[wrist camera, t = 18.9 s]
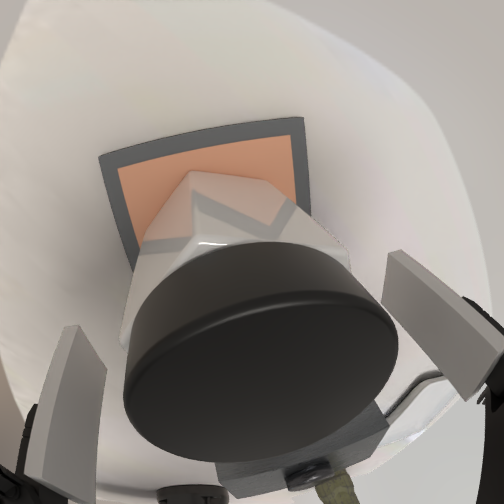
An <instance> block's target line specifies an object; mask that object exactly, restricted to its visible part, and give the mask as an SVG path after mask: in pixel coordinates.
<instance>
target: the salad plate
mask: <svg viewBox="0 0 504 504" xmlns="http://www.w3.org/2000/svg"><path fill="white" fill-rule="evenodd" d="M457 393H458V392H457V391H456V389H455V388H454V387H453V386H452V384H451V383H450V382H449V381H448V379H447V378H446V377H445V376H441V377H437V378H433V379H428V380H425V381H423V382H421V383H420V384H418V385H417V386H416V387H415V388H414V389H413V390H412V391H411V392H410V393H409V394H408V395H407V397H406V398H405V399H404V400H403V401H402V402H401V403H400V404H399V405H398V406H397V407H396V408H395V409H394V411H393V412H392V413H391V414H390V415H389V416H388V417H387V418H386V420H387V422H388V423H389V425H390V428H389V429H388V431H387V432H386V434H385V436H384V437H383V439H382V440H381V442H380V443H379V445H378V446H377V448H379V447H382V446H385V445H388V444H391V443H394V442H397V441H399V440H402V439H404V438H406V437H409V436H411V435H413V434H416V433H418V432H420V431H421V430H423V429H424V428H425V427H426V426H427V425H428V424H429V423H430V422H431V421H432V420H433V419H434V418H435V417H436V416H437V415H438V414H439V413H440V412H441V411H442V410H443V409H444V408H445V407H446V406H447V405H448V404H449V402H450V401H451V400H452V399H453V398H454V397H455V396H456V394H457Z"/></svg>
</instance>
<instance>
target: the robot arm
mask: <svg viewBox="0 0 504 504" xmlns="http://www.w3.org/2000/svg"><path fill="white" fill-rule="evenodd" d="M381 304H382V305H383V306H384V307H385V308H386V309H387V310H388V311H389V312H390V314H391V315H392V316H393V317H394V318H395V319H396V320H397V321H398V322H399V323H400V325H401V326H402V327H403V328H404V329H405V330H406V331H407V332H408V334H409V335H410V336H411V337H412V338H413V339H414V340H415V342H416V343H417V344H418V345H419V346H420V347H421V348H422V350H423V351H424V352H425V353H426V354H427V355H428V357H429V358H430V359H431V360H432V361H433V363H434V364H435V365H436V366H437V367H438V368H439V370H440V371H441V372H442V373H443V375H444V376H445V377H446V378H447V379H448V381H449V382H450V383H451V384H452V386H453V387H454V388H455V389H456V391H457V392H458V393H459V394H460V396H461V397H462V398H463V399H464V401H465V402H466V401H467V400H469V399H470V398H471V397H473V396H474V395H475V394H476V393H477V392H478V391H479V390H480V389H481V387H482V386H483V384H484V383H486V384H487V387H486V388H485V390H484V391H483V392H482V394H481V395H480V397H479V398H478V400H477V404H480V402H481V401H482V400H483V398H484V397H485V399H484V401H483V403H482V404H483V405H485V442H484V454H483V464H482V472H481V479H480V485H479V491H478V496H477V501H476V504H504V328H503V327H502V326H501V325H500V324H499V323H498V322H497V321H495V320H494V319H493V318H492V317H490V316H489V314H488V313H487V312H486V311H483V309H482V308H481V307H480V306H479V305H478V304H476V303H475V302H474V301H472V300H470V299H468V298H466V297H464V296H463V297H460V296H459V295H458V294H457V293H456V292H454V291H453V290H452V289H451V288H450V287H448V286H447V285H446V284H445V283H444V282H442V281H441V280H440V279H439V278H437V277H436V276H435V275H434V274H432V273H431V272H430V271H429V270H427V269H426V268H425V267H424V266H422V265H421V264H420V263H418V262H417V261H416V260H414V259H413V258H412V257H410V256H409V255H408V254H407V253H405V252H404V251H402V250H397V251H394V252H391V253H388V258H387V266H386V274H385V281H384V287H383V293H382V299H381ZM106 374H107V368H106V367H105V365H104V364H103V363H102V361H101V360H100V358H99V357H98V355H97V353H96V352H95V350H94V349H93V347H92V346H91V344H90V342H89V341H88V339H87V337H86V336H85V334H84V332H83V331H82V329H81V327H80V326H79V325H73V326H68V327H64V330H63V332H62V335H61V337H60V340H59V342H58V345H57V348H56V350H55V353H54V356H53V359H52V361H51V364H50V367H49V370H48V373H47V376H46V379H45V382H44V386H43V389H42V392H41V396H40V399H39V403H38V404H34V405H33V406H32V408H31V410H30V411H29V413H28V415H27V419H26V423H25V429H24V431H23V435H22V436H23V438H22V440H21V444H20V449H19V455H18V460H17V466H16V471H15V474H14V473H12V472H11V471H9V470H8V469H6V468H5V467H3V466H2V465H1V464H0V504H68V499H70V500H72V501H74V502H76V503H78V504H96V462H97V446H98V434H99V424H100V415H101V407H102V400H103V393H104V386H105V380H106ZM157 500H158V503H159V504H228V503H229V495H228V491H227V489H225V488H223V487H218V486H208V485H188V486H174V487H167V488H163V489H160V490H158V491H157Z"/></svg>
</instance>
